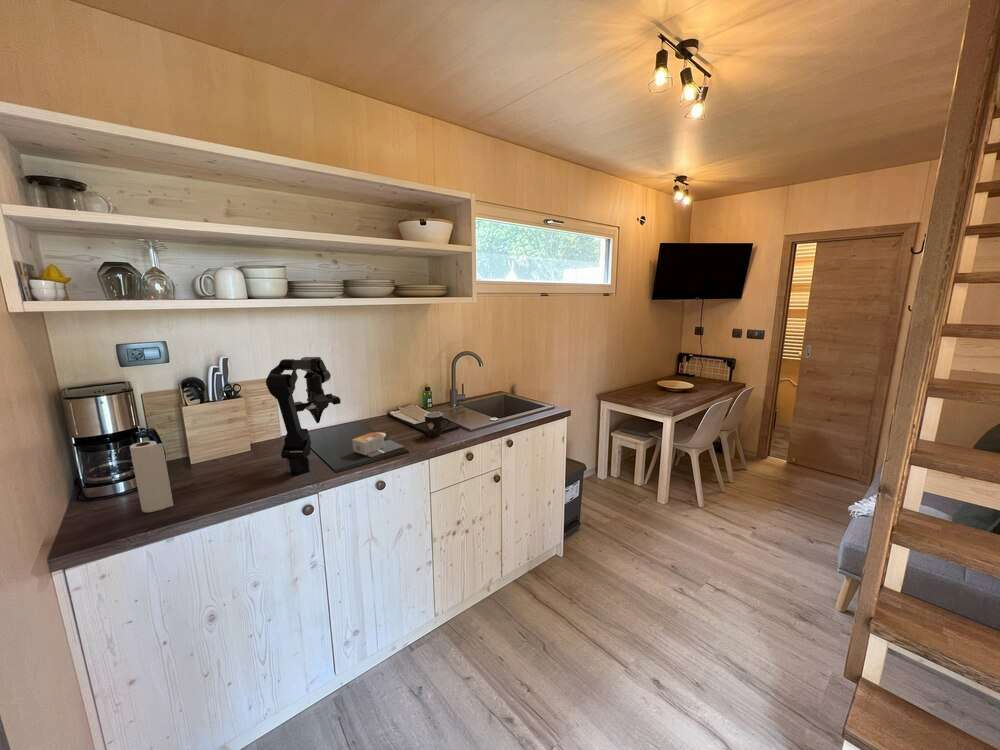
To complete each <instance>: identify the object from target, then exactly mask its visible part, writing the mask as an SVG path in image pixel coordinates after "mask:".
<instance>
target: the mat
mask: <svg viewBox="0 0 1000 750" xmlns="http://www.w3.org/2000/svg"><path fill="white" fill-rule="evenodd" d="M384 446H385V447H384V448H381V449H379V450H377V451H374V452H372V453H369V454H367V455H365V456H366V457H368V458H369V457H370V459H372V458H371V457H373V458H375V457H374V456H376V457H378V456H377V455H380V454H383V455H385V454H384V453H386V454H388V453H387V452H389V453H391V452H390V451H392V452H394V451H393V450H396V449H399V448H402V449H404V448H405V445H403V444H399V443H398V442H396V441H393V440H391V439H387V440H384ZM399 450H400V449H399ZM396 451H397V450H396ZM380 456H381V455H380Z"/></svg>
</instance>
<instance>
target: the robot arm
mask: <svg viewBox="0 0 1000 750" xmlns="http://www.w3.org/2000/svg"><path fill="white" fill-rule="evenodd" d="M297 370H301V371H305V372H306V373H305V374H304V376H303V378H304V379H305V383H306V384H305V385H306V389H305V391H306V392H307V398H306V402H302V401H300V400H298V401H295V400H294V397H293V394H294V392H295V389H296V383H297V380H298V378H299V377H298V374H297ZM285 371H292V372H291V374H290V373H284V372H285ZM331 376H332V375H331V372H330V371H329V370H328V369H327V367H326V365H325V362H324V361H323V359H322V358H321V357H320V356H304V357H301V358H300V359H294V358H293V359H292V358H289V359H288V358H286V359H285V358H284V359H281V360H280V361H279V363H278V365H276V366H275V367H274V368H273V369H271V370H270V371H269V373H268V375H267V377H266V379H265V386H266V388H267V390H268V392H269V394H270V395H271V396H273V398H275V399H276V400H277V403H278V407H279V409H280V414H281V417H282V420H283V424H284V427H285V431H286V434H285V437H284V440H283V442H284V444H283V446H282V449H281V453H280V456H281V458H282V459H286V466H287V470H285V471H286V473H287V474H289V476H291V477H295V476H296V477H297V476H298V475H301V474H305V473H309V472H310V463H309V462H310V461H309V456H310V455H311V449H312V448H311V447H312V441H311V436H310V434H309V429H307V428H302V426H301V425H302V424H301V422H300V421H301V420H300V419H299V418H300V417H299V415H298V413H299V412H303V411H304V412H305V410H306V411H308V412H309V413H310V414H311V415H312V418H313V419H314V421H315V423H316V424H320V421H321V418H322V414H323V412H324V410H325V409H327V408H328V407H329V405H330V404H332V405H340V404H342V403H341V398H340V397H339V396H336V395H333V393H327V394H325V391H324V388H323V385H324V383H327V382H328V381H329V380H330V379H331Z"/></svg>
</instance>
